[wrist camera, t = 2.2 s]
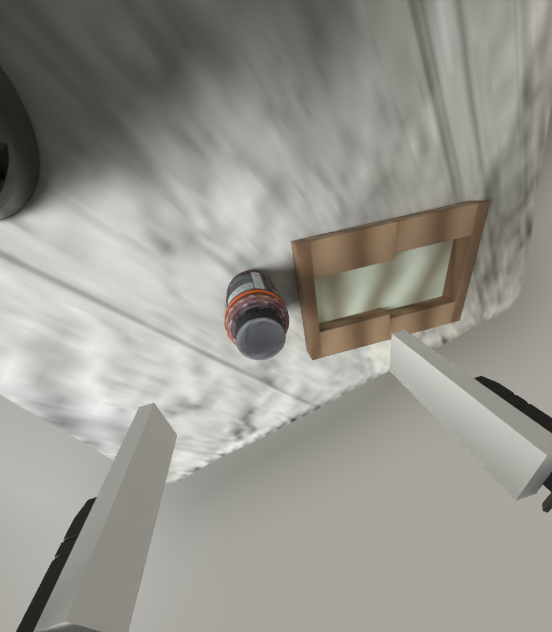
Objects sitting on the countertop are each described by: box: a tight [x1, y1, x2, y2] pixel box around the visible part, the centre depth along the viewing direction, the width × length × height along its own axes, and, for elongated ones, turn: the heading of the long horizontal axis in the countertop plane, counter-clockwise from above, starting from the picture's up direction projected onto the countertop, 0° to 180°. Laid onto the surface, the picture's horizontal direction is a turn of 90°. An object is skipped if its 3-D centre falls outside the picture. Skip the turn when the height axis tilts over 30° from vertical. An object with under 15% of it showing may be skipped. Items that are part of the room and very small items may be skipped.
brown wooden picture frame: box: [291, 200, 490, 360], centre depth 29 cm, size 23×16×2 cm
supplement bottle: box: [225, 271, 289, 360], centre depth 22 cm, size 6×6×11 cm
